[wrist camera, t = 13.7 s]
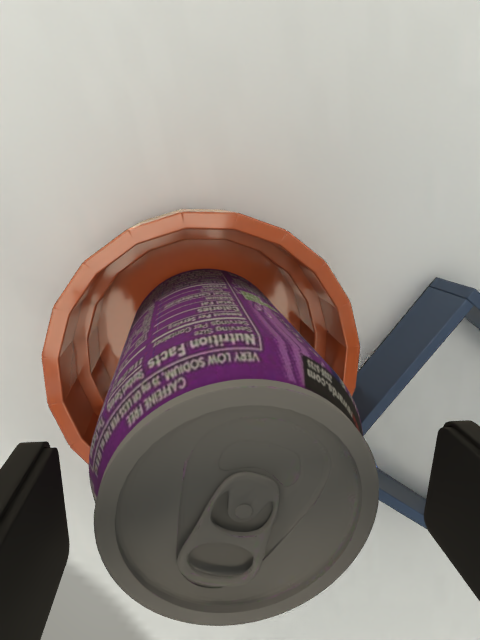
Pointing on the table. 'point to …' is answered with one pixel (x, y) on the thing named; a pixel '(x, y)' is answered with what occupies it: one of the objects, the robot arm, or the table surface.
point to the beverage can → (226, 459)
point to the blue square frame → (410, 369)
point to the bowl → (159, 265)
